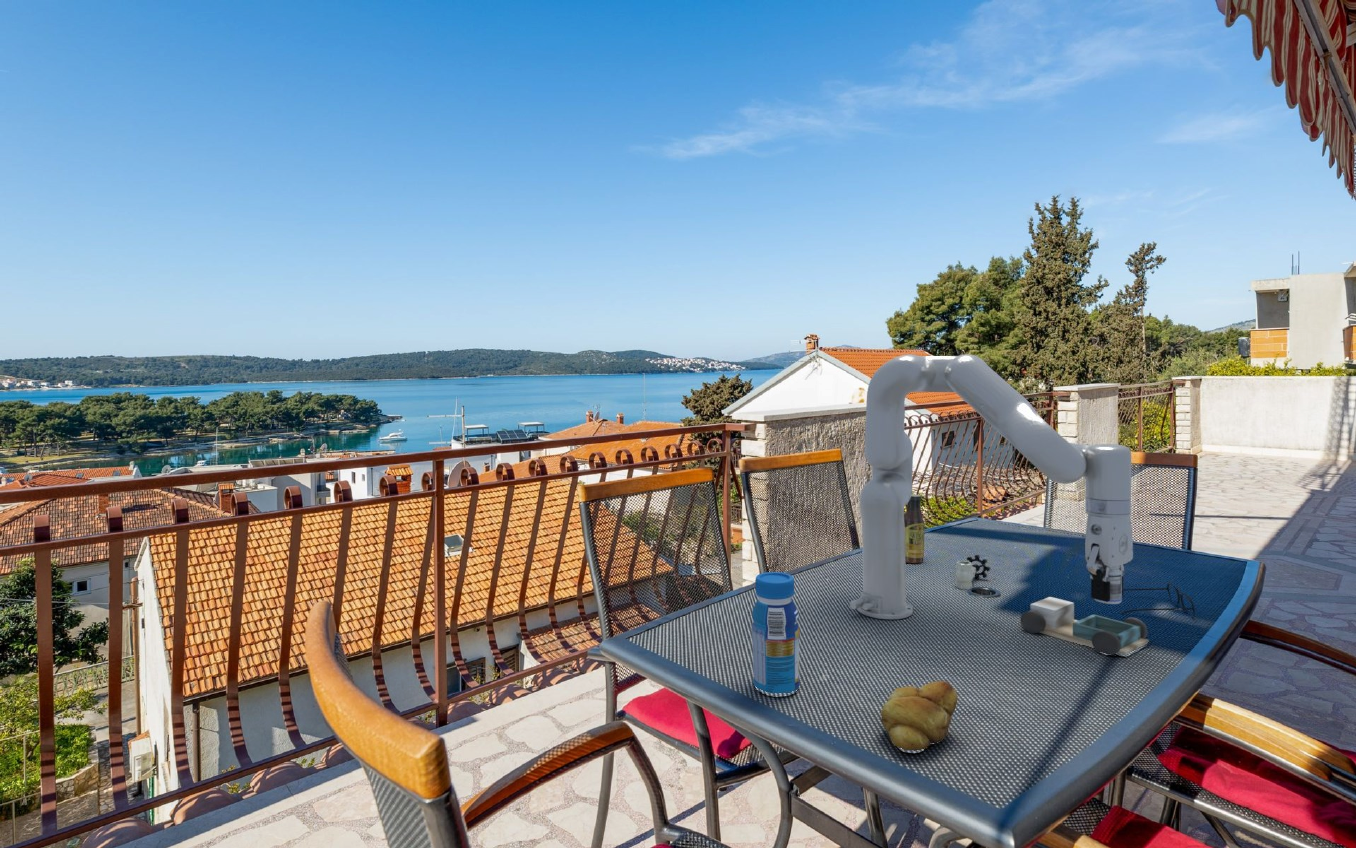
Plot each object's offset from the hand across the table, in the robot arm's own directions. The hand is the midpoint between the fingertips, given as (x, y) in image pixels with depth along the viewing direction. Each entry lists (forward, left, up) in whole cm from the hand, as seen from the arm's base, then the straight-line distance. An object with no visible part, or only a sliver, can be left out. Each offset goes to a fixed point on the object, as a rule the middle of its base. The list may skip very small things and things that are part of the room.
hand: (1107, 596), depth 128 cm
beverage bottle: (-66, +25, -10) cm, 71 cm away
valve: (+14, +38, -10) cm, 42 cm away
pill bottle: (0, 0, -1) cm, 1 cm away
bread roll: (-60, +1, -10) cm, 61 cm away
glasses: (+29, +5, -10) cm, 31 cm away
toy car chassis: (0, +5, -10) cm, 11 cm away
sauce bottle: (+20, +61, -10) cm, 64 cm away
